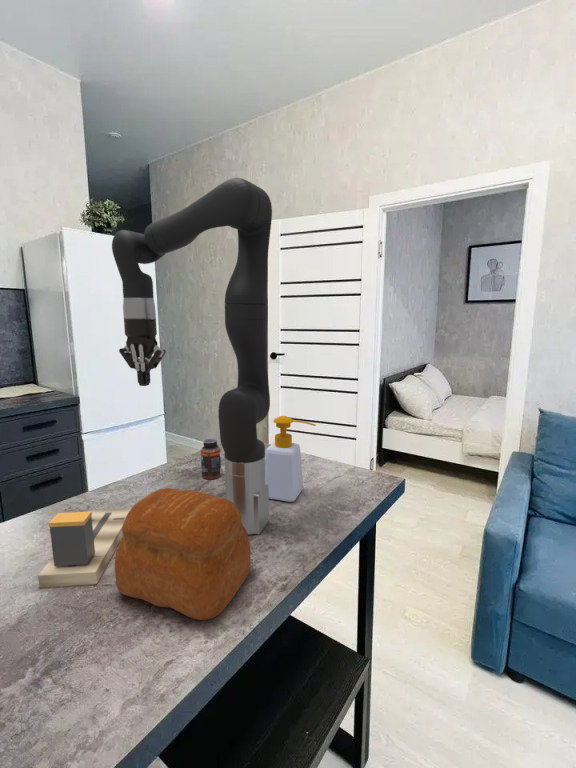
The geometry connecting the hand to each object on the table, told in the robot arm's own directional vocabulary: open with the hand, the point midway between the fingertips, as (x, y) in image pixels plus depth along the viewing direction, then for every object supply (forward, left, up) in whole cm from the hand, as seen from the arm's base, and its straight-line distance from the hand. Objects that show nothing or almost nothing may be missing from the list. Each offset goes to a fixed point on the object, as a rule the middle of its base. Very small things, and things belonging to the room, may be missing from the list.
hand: (144, 385), depth 100 cm
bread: (-28, +26, -31) cm, 49 cm away
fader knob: (-6, +31, -28) cm, 42 cm away
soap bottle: (-35, -14, -31) cm, 49 cm away
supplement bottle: (-8, -18, -31) cm, 37 cm away
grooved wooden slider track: (-3, +23, -31) cm, 39 cm away
